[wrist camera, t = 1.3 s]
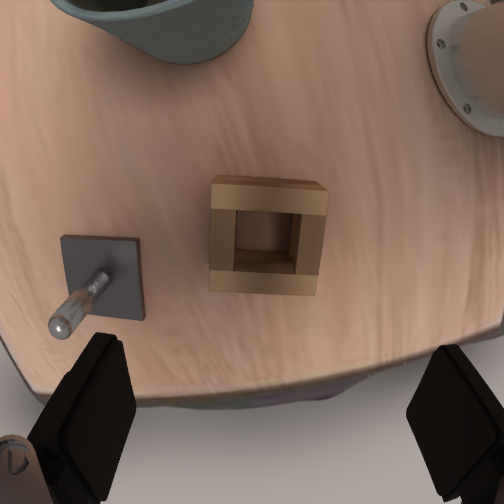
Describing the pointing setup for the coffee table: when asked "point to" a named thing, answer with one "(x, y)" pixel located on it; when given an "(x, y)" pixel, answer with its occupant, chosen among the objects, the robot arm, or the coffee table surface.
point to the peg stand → (99, 281)
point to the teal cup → (168, 24)
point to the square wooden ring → (266, 262)
